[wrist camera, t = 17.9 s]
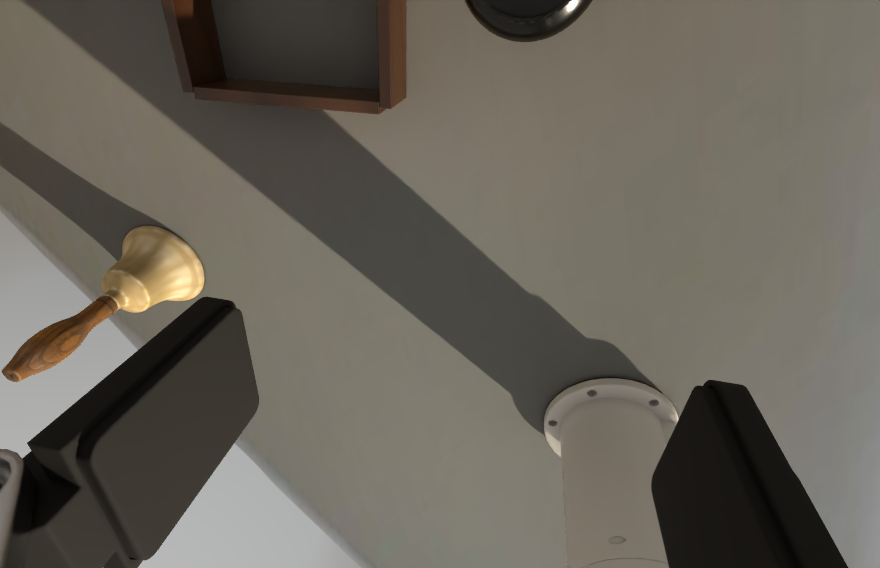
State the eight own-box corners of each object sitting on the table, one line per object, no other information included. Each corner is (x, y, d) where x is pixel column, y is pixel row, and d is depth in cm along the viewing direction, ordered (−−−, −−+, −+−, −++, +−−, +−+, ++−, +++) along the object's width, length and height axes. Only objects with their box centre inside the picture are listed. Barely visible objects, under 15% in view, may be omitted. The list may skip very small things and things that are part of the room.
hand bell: (143, 207, 42) (-41, 306, 28) (219, 268, 44) (81, 386, 30) (112, 259, 46) (-62, 366, 32) (183, 312, 48) (47, 433, 35)
